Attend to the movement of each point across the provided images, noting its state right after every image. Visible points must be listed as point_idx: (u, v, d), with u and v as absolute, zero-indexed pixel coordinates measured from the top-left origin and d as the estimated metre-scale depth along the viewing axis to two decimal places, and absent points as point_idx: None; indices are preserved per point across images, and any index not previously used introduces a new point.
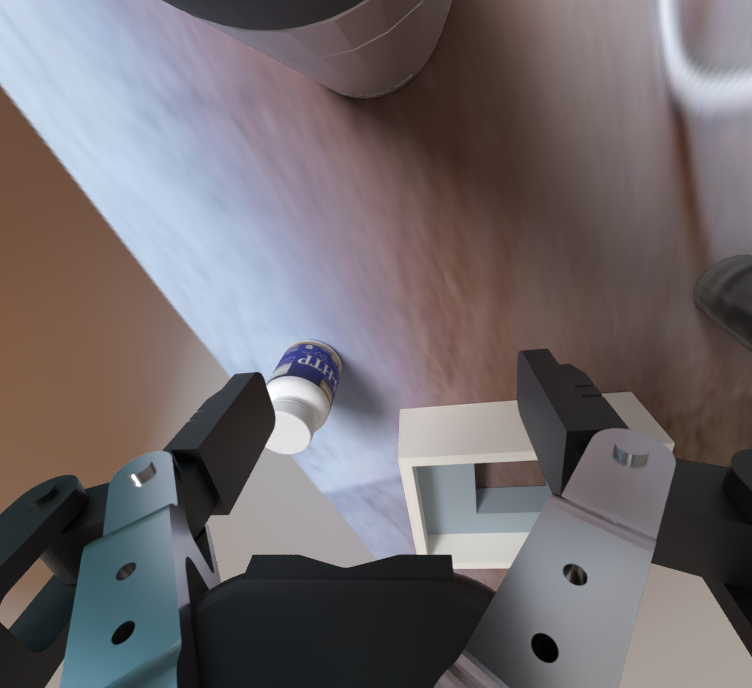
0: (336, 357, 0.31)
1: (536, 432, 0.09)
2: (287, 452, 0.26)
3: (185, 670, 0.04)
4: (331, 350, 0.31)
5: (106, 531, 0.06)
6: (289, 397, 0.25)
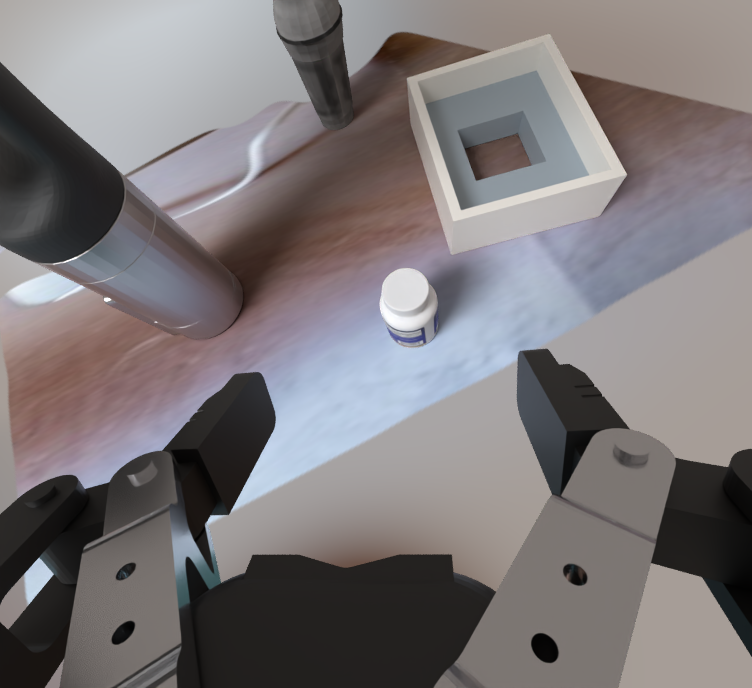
0: None
1: (536, 432, 0.09)
2: (425, 285, 0.30)
3: (185, 671, 0.04)
4: None
5: (106, 531, 0.06)
6: None
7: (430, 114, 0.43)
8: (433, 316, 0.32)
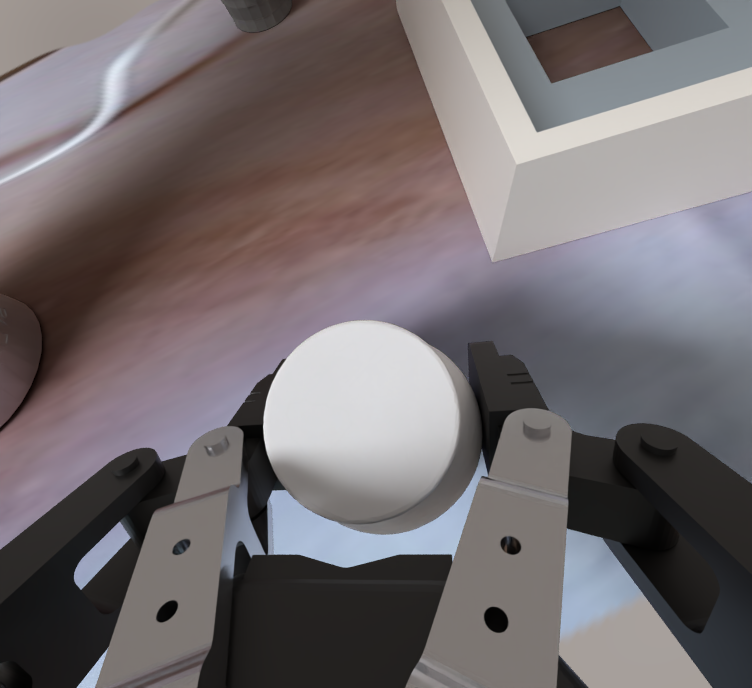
0: None
1: None
2: (446, 399, 0.07)
3: None
4: None
5: (177, 496, 0.07)
6: None
7: None
8: None
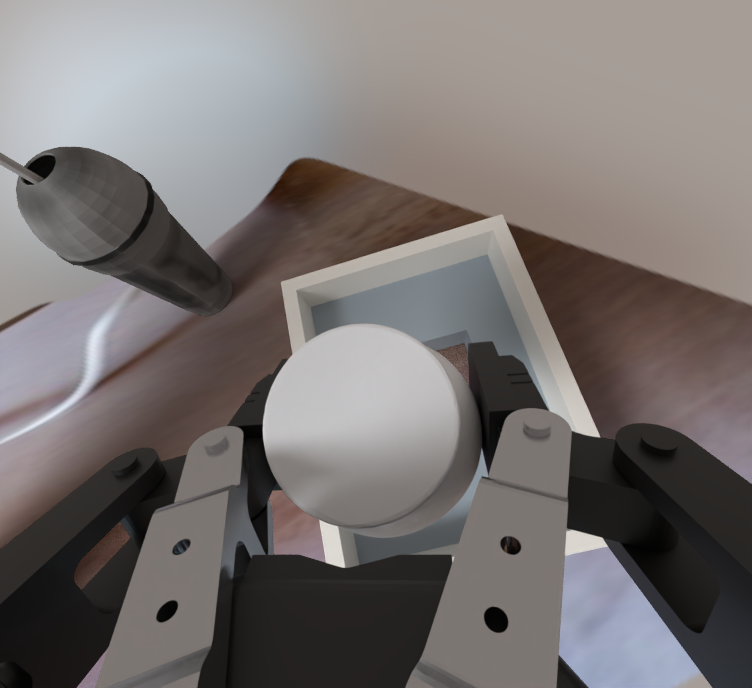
0: None
1: None
2: (445, 403, 0.07)
3: None
4: None
5: (177, 496, 0.07)
6: None
7: (326, 324, 0.27)
8: None
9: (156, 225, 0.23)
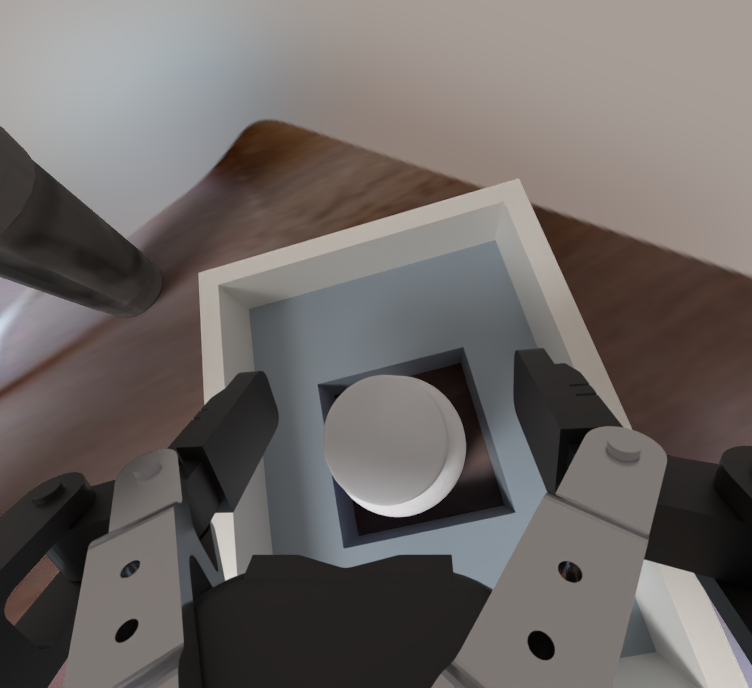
0: None
1: (532, 431, 0.09)
2: (439, 428, 0.11)
3: (185, 670, 0.04)
4: None
5: (111, 527, 0.06)
6: None
7: (268, 334, 0.20)
8: (456, 481, 0.13)
9: (0, 183, 0.15)
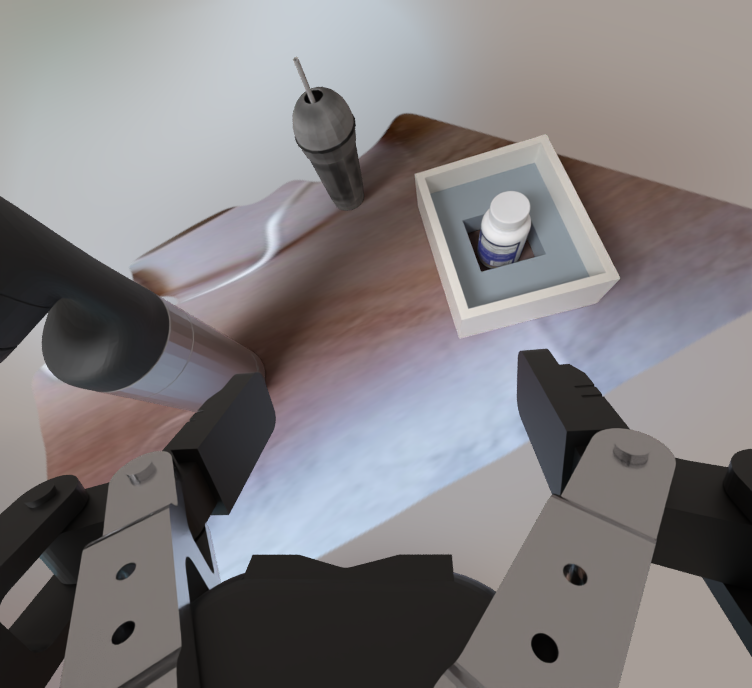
0: None
1: (536, 432, 0.09)
2: (527, 202, 0.37)
3: (185, 670, 0.04)
4: None
5: (106, 531, 0.06)
6: (490, 219, 0.39)
7: (436, 203, 0.46)
8: (528, 232, 0.39)
9: (354, 134, 0.42)
